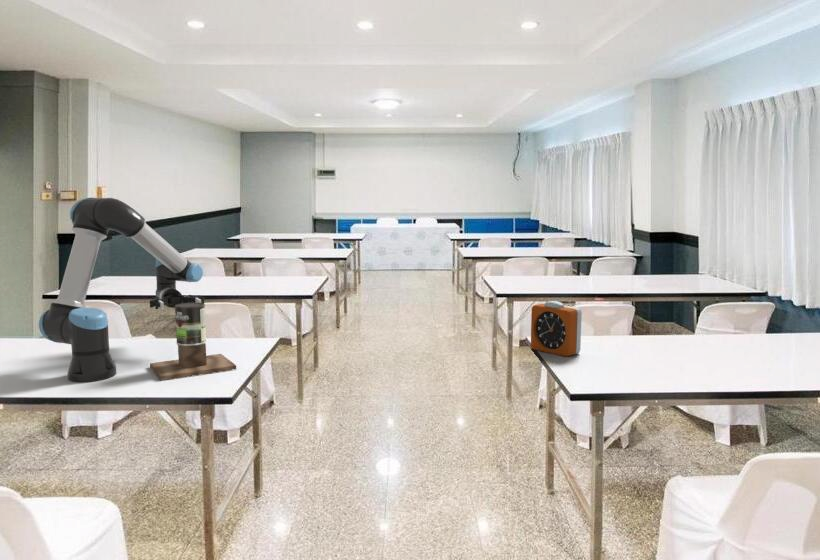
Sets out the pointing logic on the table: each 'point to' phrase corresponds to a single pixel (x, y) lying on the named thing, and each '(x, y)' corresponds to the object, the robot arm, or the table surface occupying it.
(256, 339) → the table surface
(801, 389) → the table surface
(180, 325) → the lidded glass jar
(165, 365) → the plinth
